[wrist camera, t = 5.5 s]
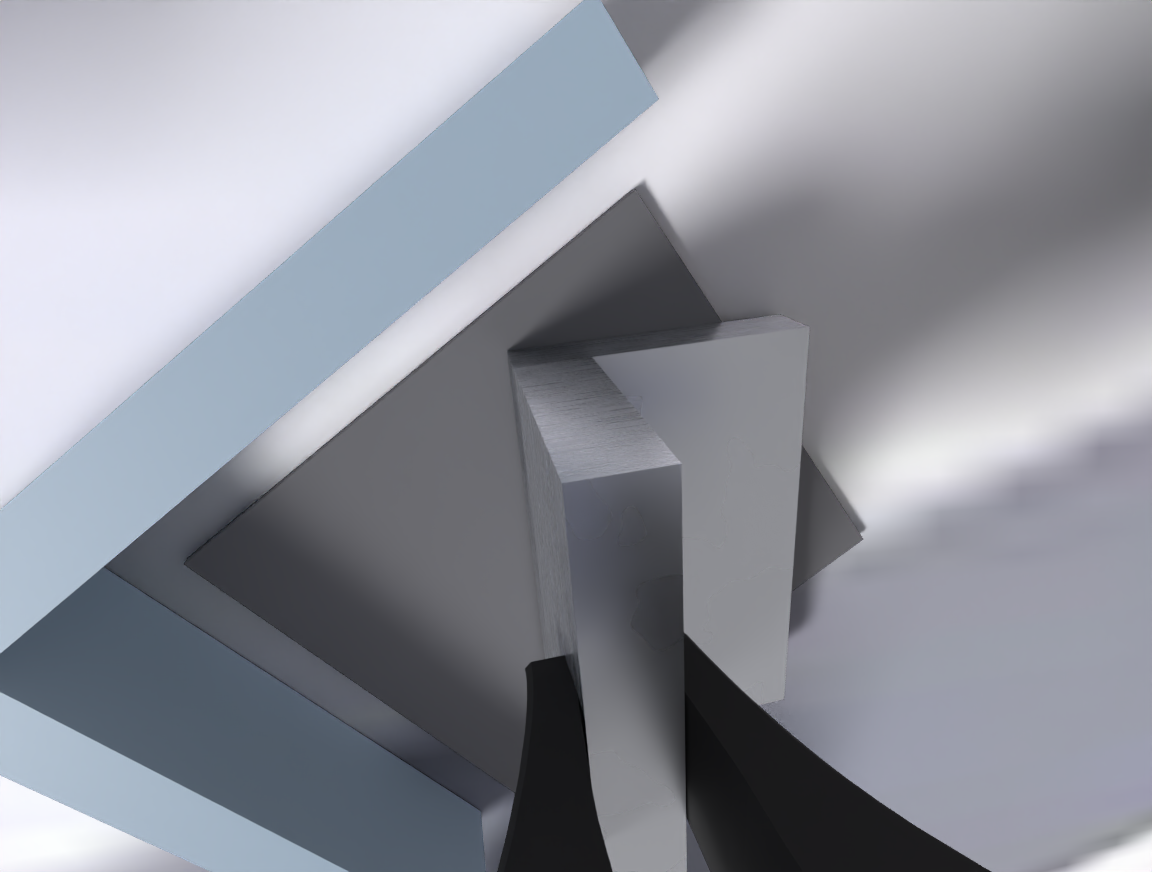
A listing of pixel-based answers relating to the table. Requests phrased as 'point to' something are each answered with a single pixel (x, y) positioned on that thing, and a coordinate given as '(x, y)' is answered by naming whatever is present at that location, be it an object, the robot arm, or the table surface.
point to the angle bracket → (661, 541)
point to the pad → (461, 505)
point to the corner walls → (206, 443)
